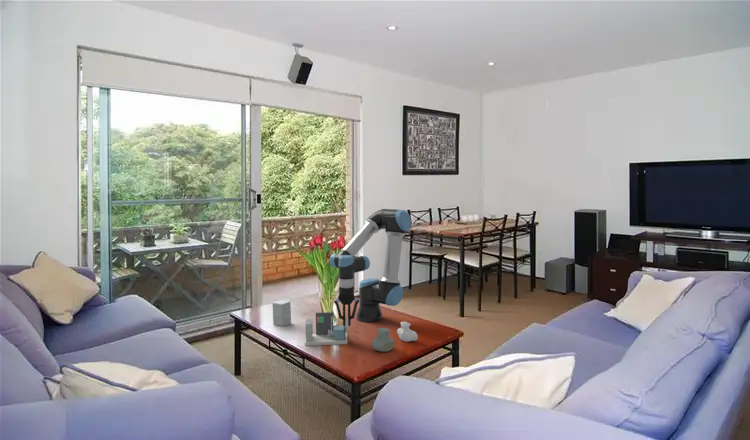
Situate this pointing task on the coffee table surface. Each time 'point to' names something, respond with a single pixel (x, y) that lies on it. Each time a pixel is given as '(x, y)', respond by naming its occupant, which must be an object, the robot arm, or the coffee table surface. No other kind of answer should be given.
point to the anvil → (309, 330)
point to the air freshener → (383, 341)
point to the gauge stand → (324, 331)
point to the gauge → (337, 331)
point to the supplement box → (281, 313)
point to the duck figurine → (406, 333)
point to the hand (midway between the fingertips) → (346, 331)
